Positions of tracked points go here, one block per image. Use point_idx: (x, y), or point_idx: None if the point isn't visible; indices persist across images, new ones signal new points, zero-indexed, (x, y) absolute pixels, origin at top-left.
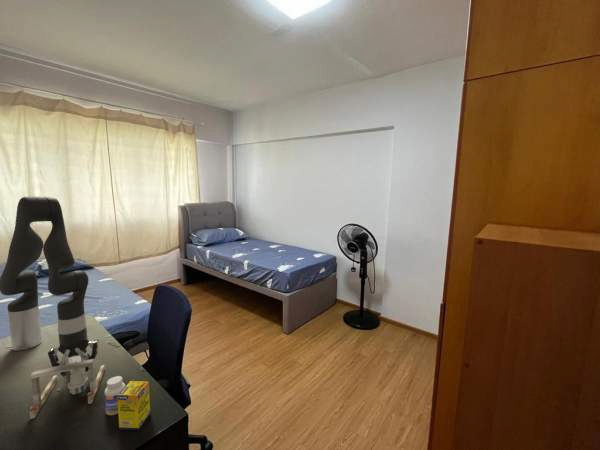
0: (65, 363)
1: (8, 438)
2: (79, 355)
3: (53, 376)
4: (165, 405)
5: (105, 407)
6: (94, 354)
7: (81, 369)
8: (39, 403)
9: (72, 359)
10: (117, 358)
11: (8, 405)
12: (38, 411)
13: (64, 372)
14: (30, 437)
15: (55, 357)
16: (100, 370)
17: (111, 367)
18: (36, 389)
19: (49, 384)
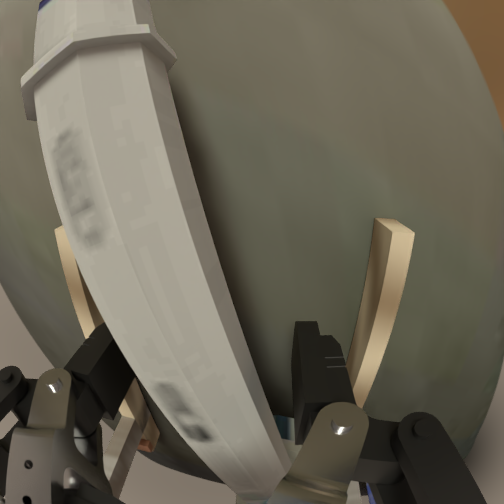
0: (84, 389)
1: (144, 453)
2: (133, 99)
3: (57, 239)
4: (463, 448)
5: (366, 483)
6: (404, 498)
7: (282, 477)
8: (140, 426)
9: (91, 293)
10: (452, 89)
11: (29, 327)
12: (151, 416)
13: (131, 378)
14: (196, 471)
15: (3, 460)
16: (386, 308)
17: (432, 205)
18: (121, 489)
19: (86, 323)
